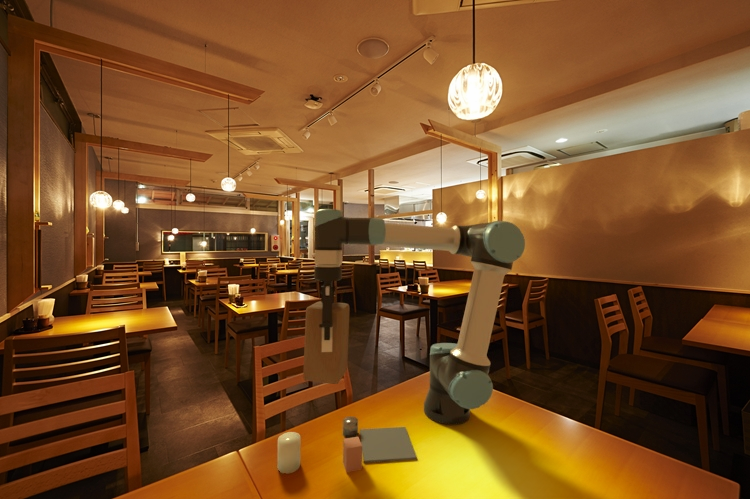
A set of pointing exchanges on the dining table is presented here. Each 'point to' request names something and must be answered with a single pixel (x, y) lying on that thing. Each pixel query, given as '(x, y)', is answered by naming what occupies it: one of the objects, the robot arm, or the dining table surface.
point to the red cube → (352, 454)
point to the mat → (386, 445)
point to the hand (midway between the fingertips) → (327, 344)
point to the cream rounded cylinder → (288, 452)
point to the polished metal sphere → (350, 427)
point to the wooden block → (315, 361)
